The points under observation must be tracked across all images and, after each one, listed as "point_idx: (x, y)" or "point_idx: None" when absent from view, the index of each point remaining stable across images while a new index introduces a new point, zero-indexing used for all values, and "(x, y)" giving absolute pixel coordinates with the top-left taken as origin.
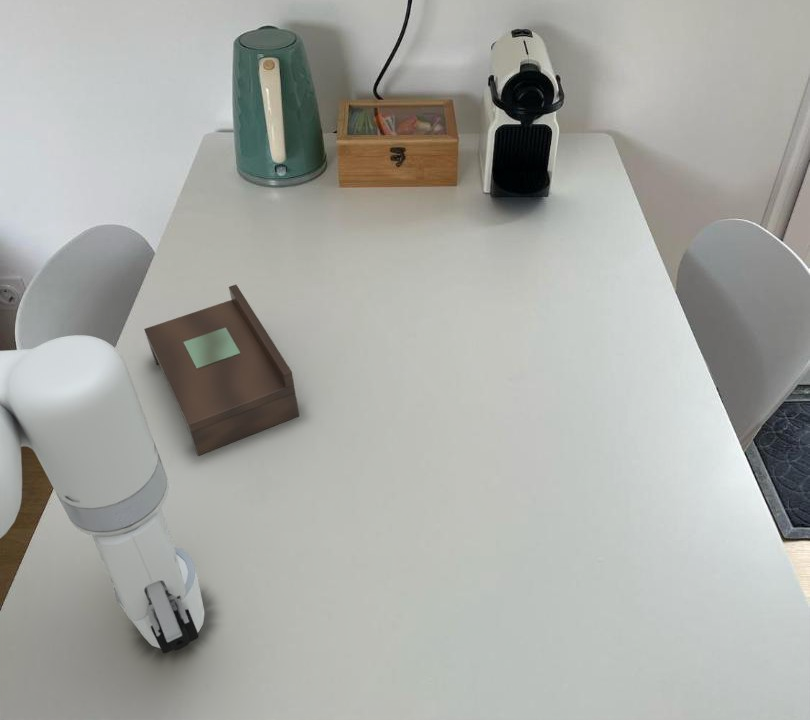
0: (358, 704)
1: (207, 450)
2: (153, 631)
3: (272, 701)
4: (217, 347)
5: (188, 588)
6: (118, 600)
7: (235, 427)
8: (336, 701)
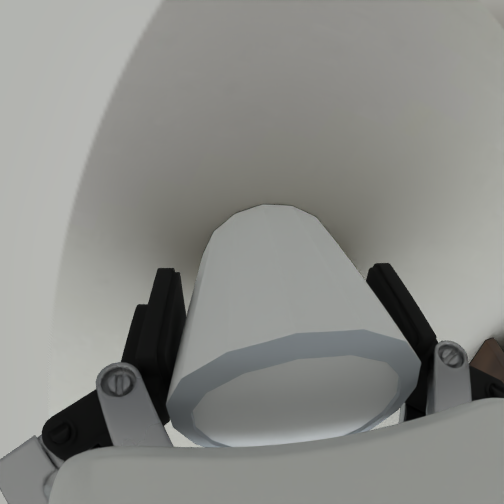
0: (57, 390)
1: (480, 352)
2: (137, 353)
3: (65, 340)
4: None
5: None
6: (295, 338)
7: None
8: (60, 381)
